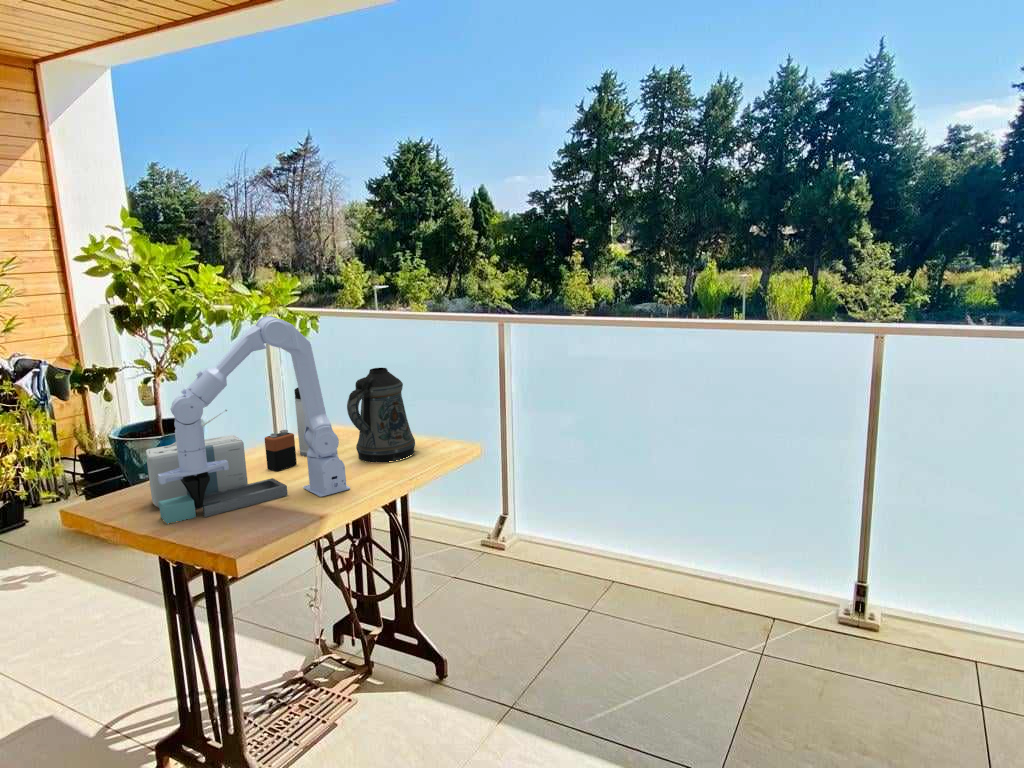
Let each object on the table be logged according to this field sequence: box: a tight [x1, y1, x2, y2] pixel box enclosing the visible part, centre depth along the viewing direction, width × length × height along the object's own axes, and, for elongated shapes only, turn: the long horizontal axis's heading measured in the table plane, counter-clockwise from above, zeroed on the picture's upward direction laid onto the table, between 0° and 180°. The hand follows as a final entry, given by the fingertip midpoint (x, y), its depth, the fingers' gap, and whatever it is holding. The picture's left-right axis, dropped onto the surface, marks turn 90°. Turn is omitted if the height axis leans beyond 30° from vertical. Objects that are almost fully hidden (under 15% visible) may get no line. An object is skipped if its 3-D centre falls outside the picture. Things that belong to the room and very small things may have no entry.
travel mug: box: [293, 387, 309, 457], centre depth 201 cm, size 6×7×20 cm
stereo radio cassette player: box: [145, 408, 249, 509], centre depth 167 cm, size 21×8×20 cm, turn 125°
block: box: [158, 495, 197, 525], centre depth 155 cm, size 5×6×4 cm
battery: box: [263, 429, 298, 472], centre depth 189 cm, size 4×7×10 cm, turn 146°
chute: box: [195, 477, 289, 518], centre depth 164 cm, size 19×8×2 cm, turn 132°
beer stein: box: [346, 367, 416, 463], centre depth 195 cm, size 16×19×25 cm
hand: (198, 506), depth 158 cm, fingers closed
